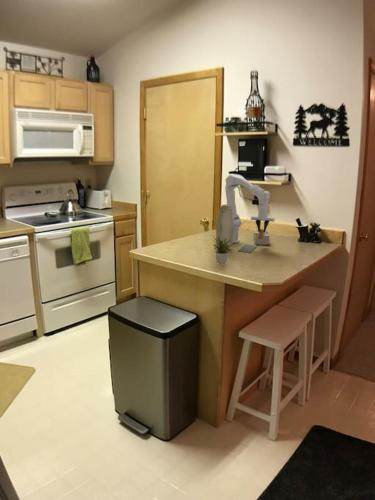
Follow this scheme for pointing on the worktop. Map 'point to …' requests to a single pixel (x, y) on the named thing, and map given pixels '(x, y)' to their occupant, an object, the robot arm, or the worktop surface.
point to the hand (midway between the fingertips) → (261, 232)
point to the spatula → (261, 233)
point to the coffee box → (261, 241)
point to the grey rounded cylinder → (225, 225)
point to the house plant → (221, 250)
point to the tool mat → (247, 248)
